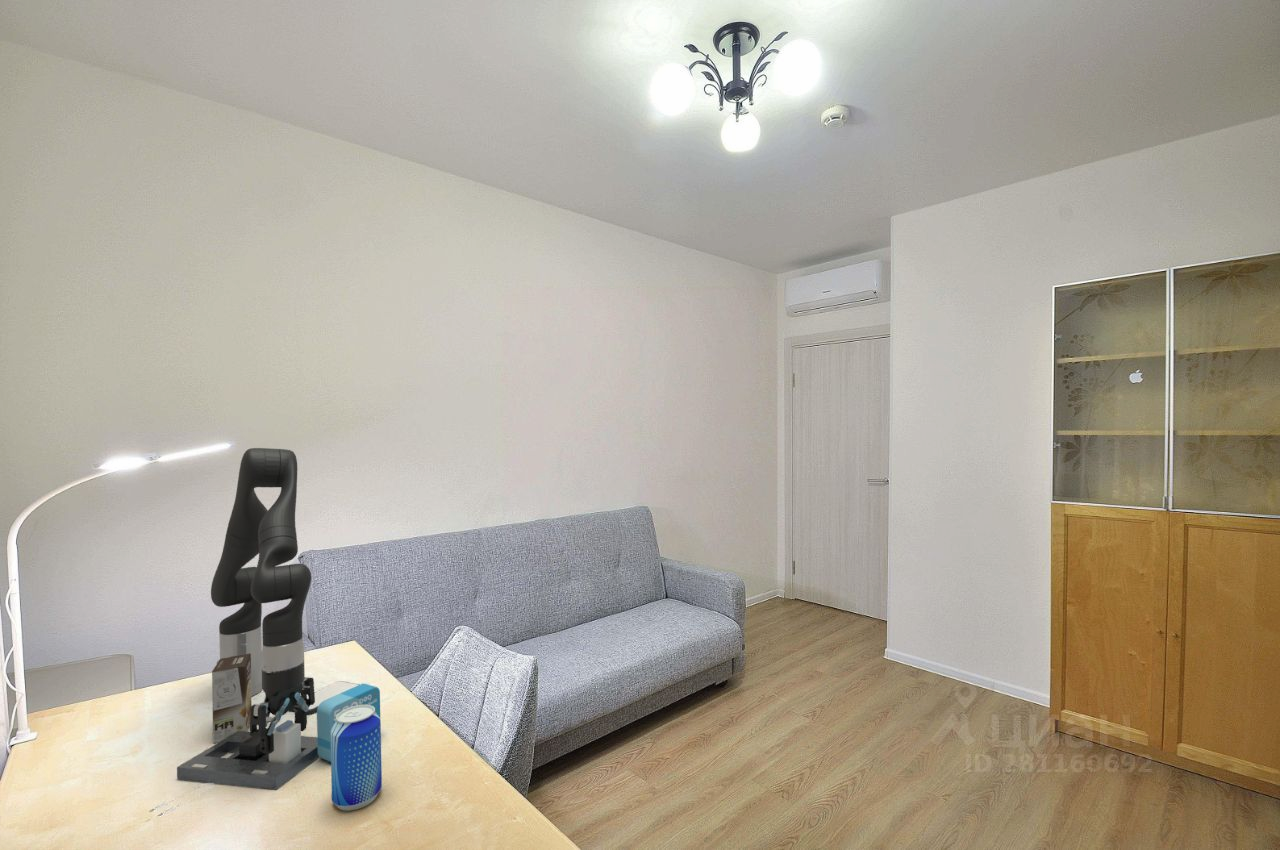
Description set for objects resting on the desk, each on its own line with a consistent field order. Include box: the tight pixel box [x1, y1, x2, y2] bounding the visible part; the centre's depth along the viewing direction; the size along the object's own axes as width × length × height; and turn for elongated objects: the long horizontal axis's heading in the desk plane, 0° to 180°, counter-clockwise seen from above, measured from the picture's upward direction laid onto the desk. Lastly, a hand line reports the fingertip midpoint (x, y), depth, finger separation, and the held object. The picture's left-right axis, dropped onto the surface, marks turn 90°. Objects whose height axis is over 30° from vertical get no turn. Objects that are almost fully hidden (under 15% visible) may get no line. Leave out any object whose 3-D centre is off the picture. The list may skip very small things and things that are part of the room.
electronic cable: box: [148, 783, 215, 817], centre depth 108 cm, size 4×10×1 cm, turn 154°
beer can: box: [330, 705, 383, 812], centre depth 107 cm, size 8×8×16 cm
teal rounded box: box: [316, 683, 381, 763], centre depth 124 cm, size 12×4×12 cm, turn 152°
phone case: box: [288, 680, 361, 716], centre depth 148 cm, size 9×2×16 cm
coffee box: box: [211, 654, 253, 744], centre depth 133 cm, size 9×6×16 cm
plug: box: [269, 719, 302, 764], centre depth 118 cm, size 4×4×9 cm
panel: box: [176, 730, 320, 791], centre depth 119 cm, size 23×14×5 cm, turn 80°
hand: (284, 741), depth 117 cm, fingers open, 8 cm apart
